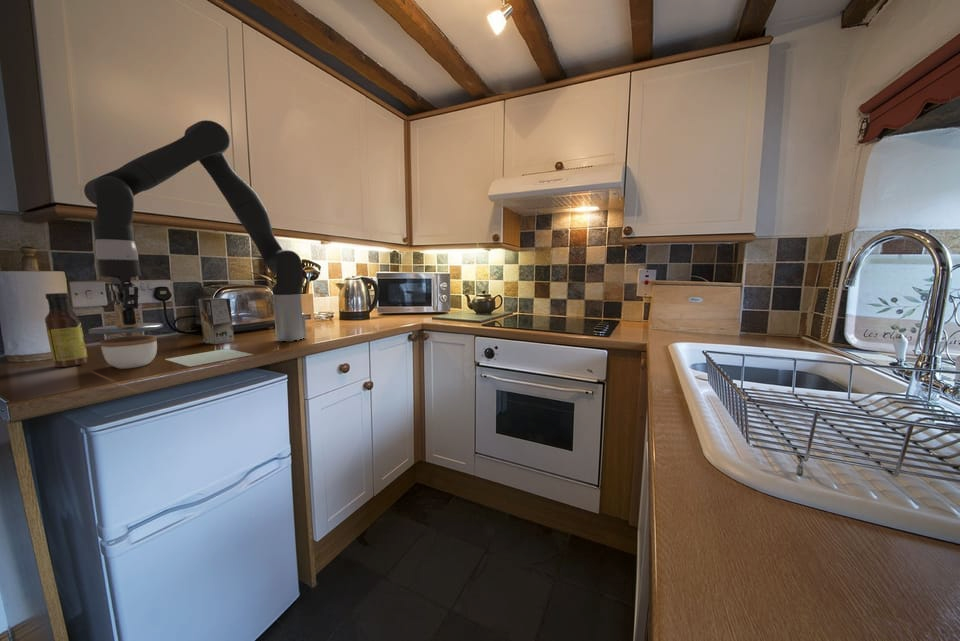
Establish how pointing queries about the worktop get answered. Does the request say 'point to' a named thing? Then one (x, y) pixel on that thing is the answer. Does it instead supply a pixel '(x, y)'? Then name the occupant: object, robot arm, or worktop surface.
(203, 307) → the coffee box
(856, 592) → the worktop surface
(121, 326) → the lid
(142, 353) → the lidded jar
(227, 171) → the robot arm
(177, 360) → the mat
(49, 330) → the sauce bottle
